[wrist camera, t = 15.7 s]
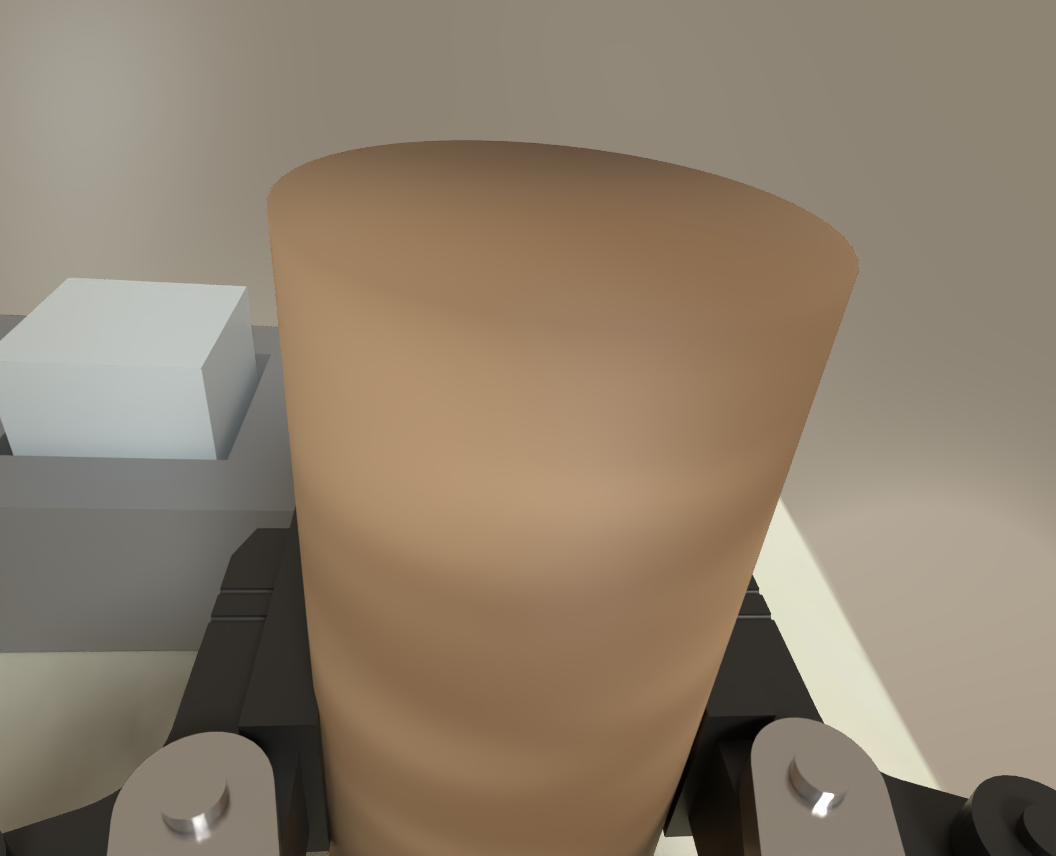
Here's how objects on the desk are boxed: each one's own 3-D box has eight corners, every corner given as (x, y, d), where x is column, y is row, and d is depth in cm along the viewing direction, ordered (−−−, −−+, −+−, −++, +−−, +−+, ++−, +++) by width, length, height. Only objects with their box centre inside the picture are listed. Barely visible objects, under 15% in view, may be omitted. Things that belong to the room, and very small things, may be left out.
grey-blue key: (32, 506, 20) (-21, 359, 17) (103, 407, 24) (68, 277, 22) (224, 509, 21) (201, 368, 18) (261, 412, 25) (246, 286, 22)
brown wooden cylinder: (333, 1190, 11) (185, 311, 3) (359, 897, 14) (315, 126, 7) (600, 1162, 11) (996, 347, 4) (565, 886, 15) (739, 159, 7)
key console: (-452, 656, 18) (-604, 499, 15) (-176, 433, 26) (-243, 303, 24) (602, 645, 22) (632, 515, 19) (560, 451, 30) (576, 339, 27)
